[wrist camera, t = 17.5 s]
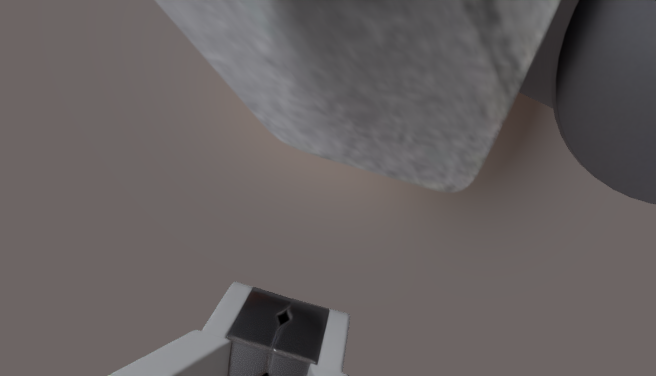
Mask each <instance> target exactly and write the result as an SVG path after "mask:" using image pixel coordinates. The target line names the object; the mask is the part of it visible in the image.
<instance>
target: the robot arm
mask: <svg viewBox="0 0 656 376" xmlns="http://www.w3.org/2000/svg"><path fill="white" fill-rule="evenodd" d="M349 323H350V315H349V314H348V313H344V312H340V311H336V310H333V309H330V310H329V308H325V307H321V306H318V305H314V304H311V303H306V302H303V301H299V300H296V299H291V298H288V297H284V296H281V295H278V294H275V293H272V292H269V291H265V290H262V289H259V288H256V287H251V286H248V285H245V284H241V283H238V282H234V283H233V284H232V285H231V286H230V288H229V289H228V290H227V292H226V293H225V295H224V297H223V298H222V300H221V301H220V303H219V304H218V306H217V308H216V309H215V311H214V312H213V314H212V316H211V317H210V319H209V320H208V322H207V323H206V325H205V326H204V328H203V329H202V331H199V330H194V331H192V332H190V333H188V334H186V335H184V336H182V337H180V338H178V339H177V340H175V341H173V342H171V343H169V344H167V345H165V346H163V347H161V348H159V349H158V350H156V351H154V352H152V353H150V354H148V355H147V356H144V357H143V358H140V359H139V360H137V361H135V362H133V363H131V364H129V365H127V366H125V367H124V368H122V369H120V370H118V371H116V372H114V373H112V374H110V375H108V376H349V375H347V374H344V373H342V371H343V364H344V357H345V350H346V343H347V336H348V329H349Z"/></svg>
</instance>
